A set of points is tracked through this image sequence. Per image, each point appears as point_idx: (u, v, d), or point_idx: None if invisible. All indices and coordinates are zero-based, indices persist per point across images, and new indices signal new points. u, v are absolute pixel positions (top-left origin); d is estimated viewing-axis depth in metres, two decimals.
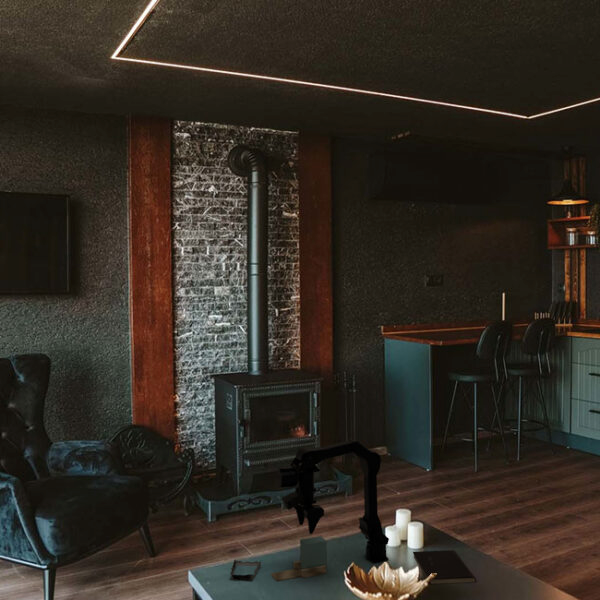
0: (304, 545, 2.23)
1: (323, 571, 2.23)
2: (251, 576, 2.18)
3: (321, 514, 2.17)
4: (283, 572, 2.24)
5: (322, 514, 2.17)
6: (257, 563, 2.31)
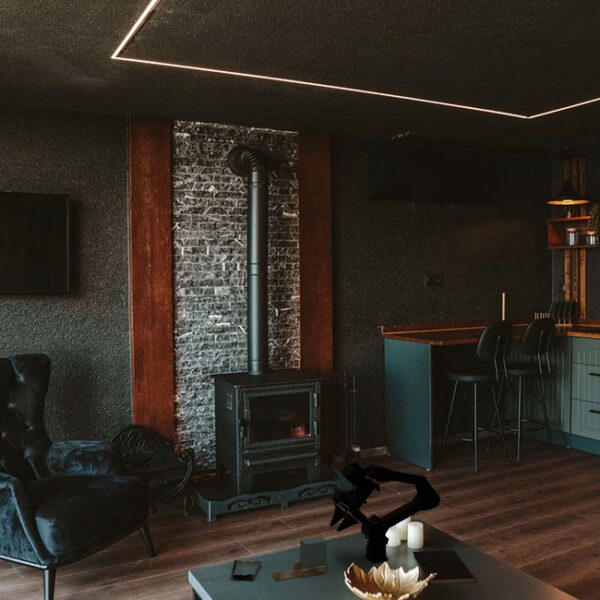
0: (304, 545, 2.23)
1: (323, 571, 2.23)
2: (252, 576, 2.18)
3: (363, 522, 2.22)
4: (283, 572, 2.24)
5: (363, 522, 2.23)
6: (257, 563, 2.31)
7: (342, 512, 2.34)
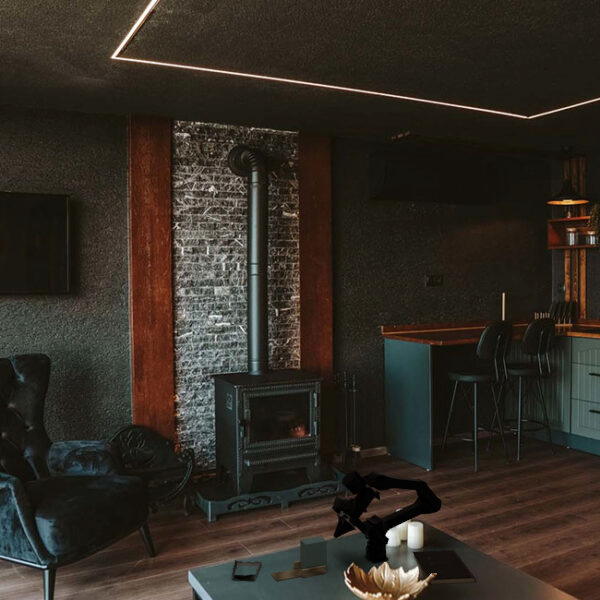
0: (304, 545, 2.23)
1: (323, 571, 2.23)
2: (253, 576, 2.18)
3: (363, 531, 2.22)
4: (283, 572, 2.24)
5: (363, 531, 2.23)
6: (258, 563, 2.31)
7: None
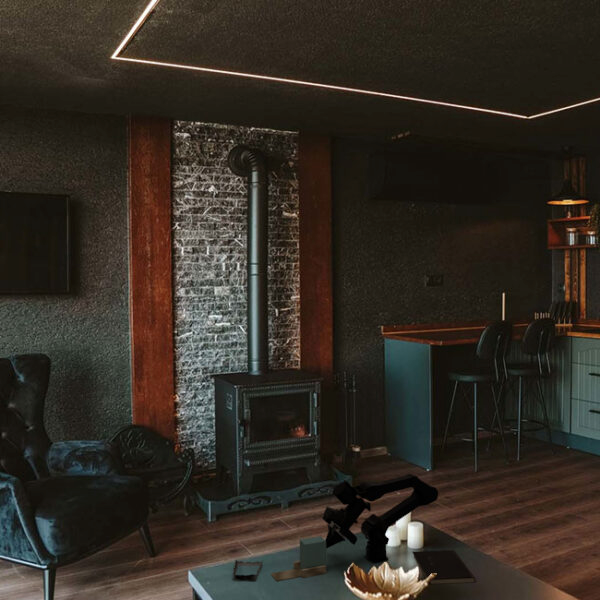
0: (303, 545, 2.23)
1: (323, 571, 2.23)
2: (254, 576, 2.18)
3: (353, 542, 2.21)
4: (283, 572, 2.24)
5: (353, 542, 2.21)
6: (258, 563, 2.30)
7: None
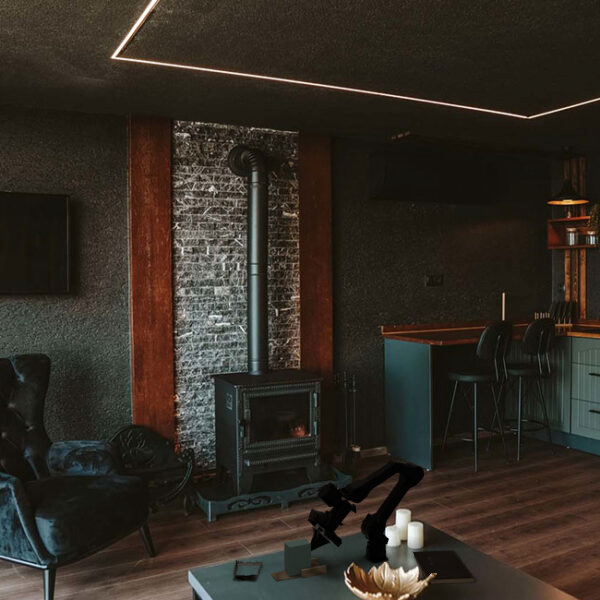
0: (288, 548, 2.21)
1: (323, 571, 2.23)
2: (254, 576, 2.18)
3: (337, 544, 2.19)
4: (283, 572, 2.24)
5: (338, 545, 2.19)
6: (259, 563, 2.30)
7: None
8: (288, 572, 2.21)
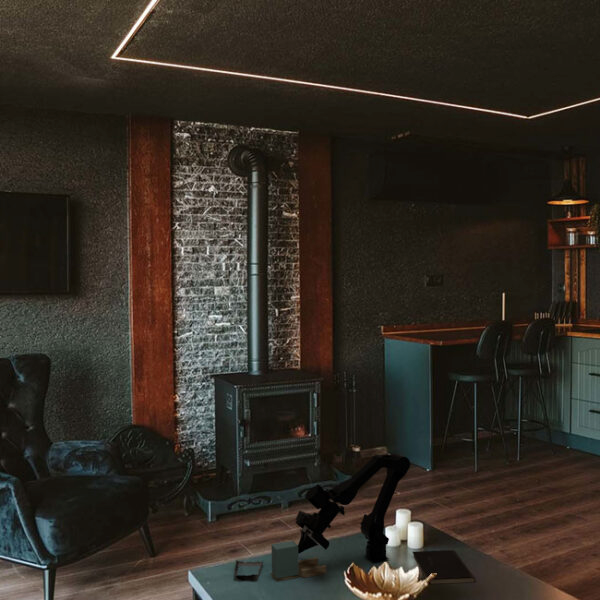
0: (275, 550, 2.19)
1: (323, 571, 2.23)
2: (255, 576, 2.18)
3: (325, 547, 2.17)
4: None
5: (325, 547, 2.17)
6: (259, 563, 2.30)
7: None
8: (275, 574, 2.19)
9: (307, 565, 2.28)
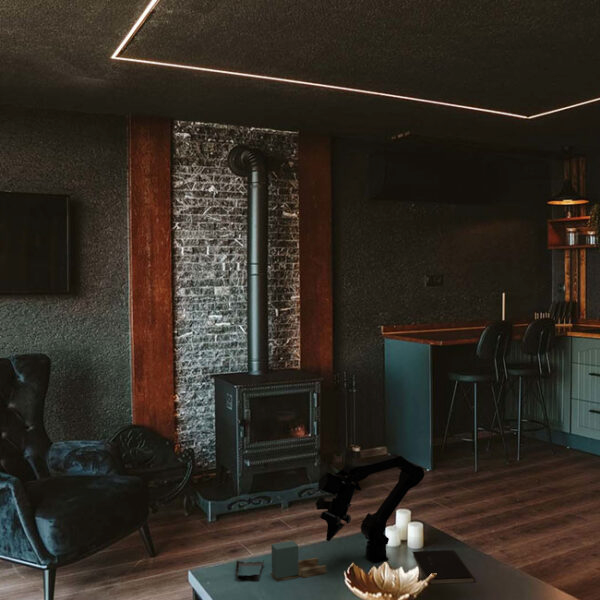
0: (275, 550, 2.19)
1: (323, 571, 2.23)
2: (257, 576, 2.18)
3: (332, 522, 2.20)
4: None
5: (333, 522, 2.20)
6: (259, 563, 2.30)
7: None
8: (275, 574, 2.19)
9: (307, 565, 2.28)
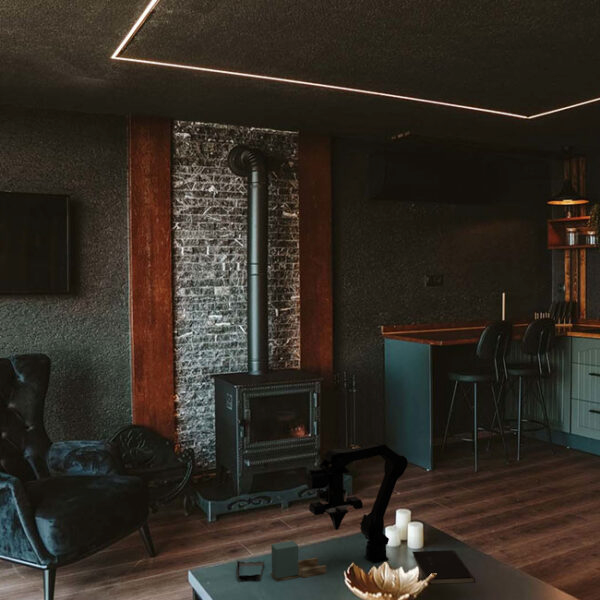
0: (275, 550, 2.19)
1: (323, 571, 2.23)
2: (258, 576, 2.18)
3: (313, 512, 2.24)
4: None
5: (314, 513, 2.23)
6: (260, 563, 2.31)
7: (338, 512, 2.28)
8: (275, 574, 2.19)
9: (307, 565, 2.28)
